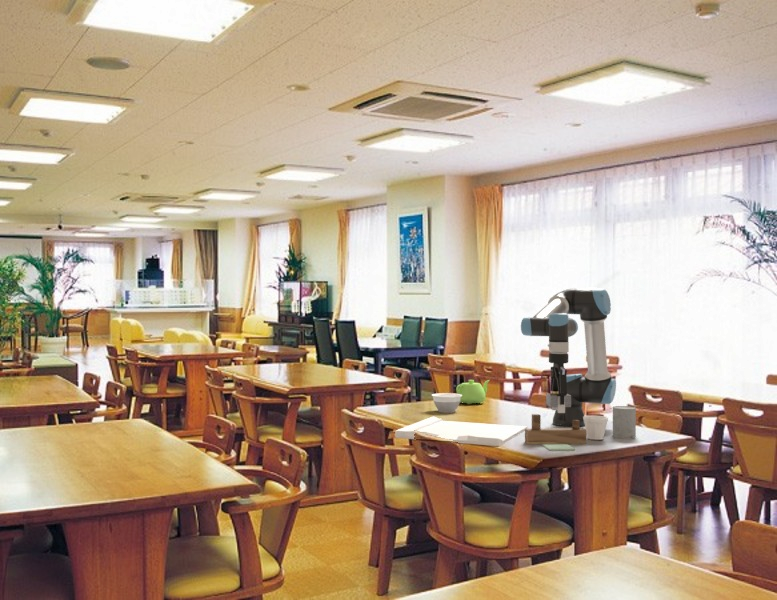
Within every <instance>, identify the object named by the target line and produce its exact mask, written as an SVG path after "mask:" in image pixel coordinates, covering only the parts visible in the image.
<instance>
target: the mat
mask: <svg viewBox="0 0 777 600" xmlns="http://www.w3.org/2000/svg"><path fill="white" fill-rule="evenodd" d="M541 445H542V447H543V448H545V449H546V450H548V451H558V452H559V451H576V448H574V447H572V445H570V444H541Z"/></svg>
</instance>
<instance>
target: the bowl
mask: <svg viewBox="0 0 777 600" xmlns="http://www.w3.org/2000/svg"><path fill="white" fill-rule="evenodd" d="M461 396H462V395H461V394H457V393H453V392H449V393H448V392H445V393H444V392H441V393H439V392H438V393H437V392H436V393H433V394H431V397H432V398H433V403H434V406H435V408H436V409H437V411H438V412H439V413H446V414H447V413H448V414H449V413H456V410H457V409H458V407H459V405H460V403H461V402H460V397H461Z"/></svg>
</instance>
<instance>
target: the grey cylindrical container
mask: <svg viewBox="0 0 777 600" xmlns="http://www.w3.org/2000/svg"><path fill="white" fill-rule="evenodd" d="M636 412H637V408H636V407H635V406H631V405H630V406H629V405H617V406H613V407H612V437H613V438H617V439H635V437H636V438H637V435H636V434H637V433H636V432H637V431H636V430H637V429H636V428H637V427H636V425H637V424H636V423H637V420H636V415H637V414H636Z"/></svg>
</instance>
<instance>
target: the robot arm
mask: <svg viewBox="0 0 777 600" xmlns="http://www.w3.org/2000/svg"><path fill="white" fill-rule="evenodd" d="M611 305H612V304H611V299H610V295H609V293H608V291H607V290H606V289H605V288H599V287H598V288H597V287H588V288H587V287H586V288H585V287H583V288H575V287H573V288H568V289H564V290H561V291H559V292H557V293H556V294H554V295H553V296H552V297H550V298H549V300H548V303H547V304H546V305H545V306H543V308H541V310H539V311H538V312H537V313H536V314H534V316H533V317H530V316H528V317H523V318H522V319H521V322H520V331H521V333H522V335H523V336H526V337H527V336H528V337H548V344H547V347H548V351H549V353H548V363H550V364H553V366H550V384H549V386H550V388H549V389H550V392H552V391H558V394H557V396H558V407H551V411H554V415H553V418H552V424H553V425H555V426H561V427H570V428H572V420H580V427H585V424H584V420H583V417H584V416H586V415H585V412H584V410H583V409H584V408H583V403H586V404H587V403H588V404H598V405H604V404H605V405H610V404H612V402H613V401H614V399H615V396H616V395H615V394H616V390H617V380H616V379H615V378H612V373H611V372H609V371H608V362H607V347H606V333H605V332H606V331H605V320H607V318H608V315H610V313H611V311H612V310H611V309H612V308H611V307H612V306H611ZM569 315H579V316H580V317H579V319H580V321H582V322H583V325H584V326H583V327H584V337H585V340H584V341H585V351H586V363H587V371H586V373H585V375H584V376H583V374H582V373H573V374H571V373H570V374H567V373H568V369H566V368H565V366H564V365H565V364H568V363H569V352H570V351H569V349H570V348H569V346H570V345H569V343H570V342H569V338H570V337H573V336H574V335H576V334H577V332H578V330H579V325H578V322H577V321H576V320H575V319H573V318H571V317H569ZM567 394H569V395H571V407H565V396H566V395H567Z"/></svg>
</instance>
